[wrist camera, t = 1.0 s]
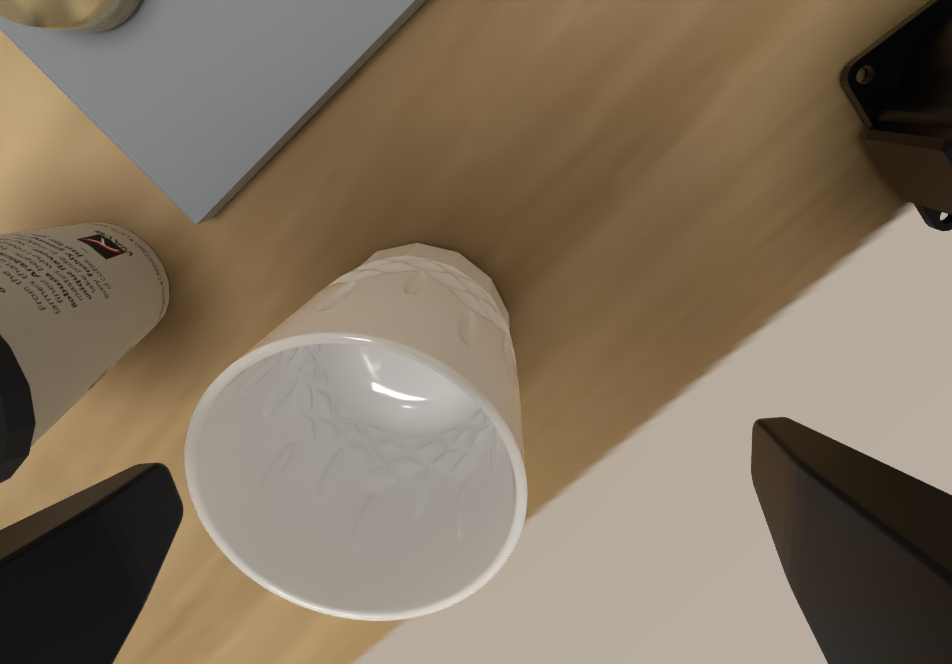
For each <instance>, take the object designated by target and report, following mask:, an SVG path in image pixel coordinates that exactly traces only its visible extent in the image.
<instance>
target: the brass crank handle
mask: <svg viewBox="0 0 952 664" xmlns="http://www.w3.org/2000/svg"><path fill="white" fill-rule="evenodd" d="M139 1H140V0H0V15H1V16H3V17H5V18H6V19H8V20H10V21H13V22H16V23H19V24H22V25H26V26H31V27H39V28H48V29H56V30H65V31H73V32H82V33H98V32H103V31H107V30H110V29H112V28H114V27H116V26H118V25H119V24H121V23H122V22H124V21H125V20H126V19H127V18H128V17H129V16H130V15H131V13H132V12H133V11H134V10H135V8H136V6H137V4H138V3H139Z"/></svg>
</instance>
